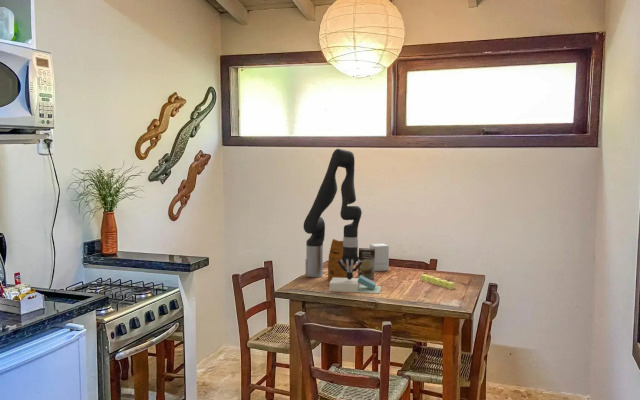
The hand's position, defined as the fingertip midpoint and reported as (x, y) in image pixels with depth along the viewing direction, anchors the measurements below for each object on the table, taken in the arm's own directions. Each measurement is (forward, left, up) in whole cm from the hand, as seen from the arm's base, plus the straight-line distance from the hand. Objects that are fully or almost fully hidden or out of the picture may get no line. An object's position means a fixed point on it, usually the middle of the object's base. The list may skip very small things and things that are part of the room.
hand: (349, 279), depth 265 cm
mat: (+10, -1, -5) cm, 11 cm away
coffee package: (-7, +17, -5) cm, 20 cm away
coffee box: (+7, +25, -5) cm, 27 cm away
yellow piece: (+46, +19, -6) cm, 50 cm away
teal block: (+8, 0, -2) cm, 8 cm away
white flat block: (-2, -1, -5) cm, 5 cm away
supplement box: (+13, +48, -5) cm, 50 cm away
